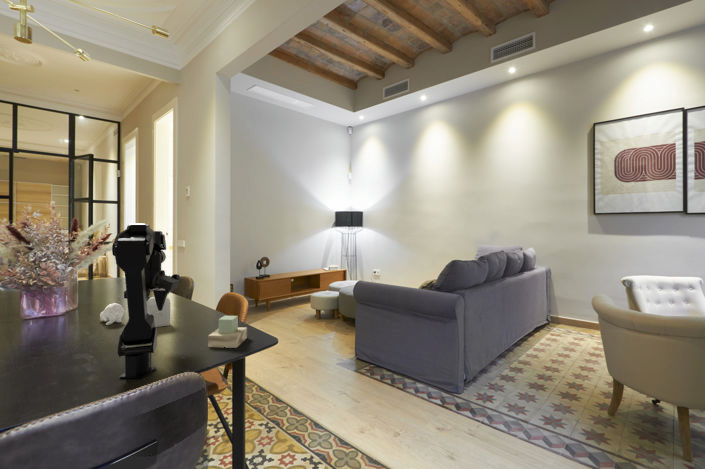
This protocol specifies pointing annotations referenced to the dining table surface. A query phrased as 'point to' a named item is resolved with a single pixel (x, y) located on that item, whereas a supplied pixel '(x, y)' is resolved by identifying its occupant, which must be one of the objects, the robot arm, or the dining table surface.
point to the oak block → (227, 338)
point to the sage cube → (227, 324)
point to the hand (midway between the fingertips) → (151, 314)
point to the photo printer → (159, 312)
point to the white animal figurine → (112, 313)
